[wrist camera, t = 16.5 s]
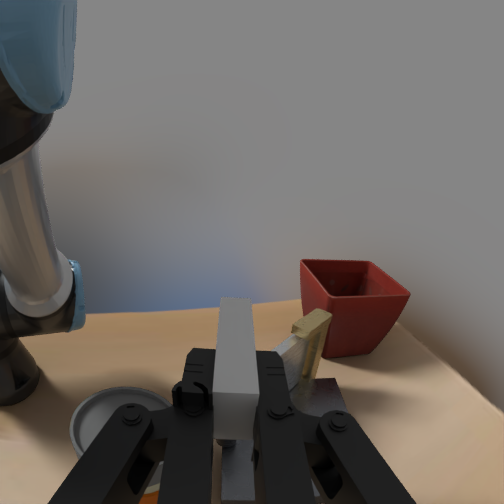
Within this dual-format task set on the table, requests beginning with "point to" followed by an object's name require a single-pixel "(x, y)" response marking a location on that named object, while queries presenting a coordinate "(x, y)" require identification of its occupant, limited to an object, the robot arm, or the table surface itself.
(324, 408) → the dark grey flat slab
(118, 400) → the reusable coffee cup
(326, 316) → the wooden l-shaped post
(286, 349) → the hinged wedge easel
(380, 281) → the plant pot
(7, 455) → the table surface
